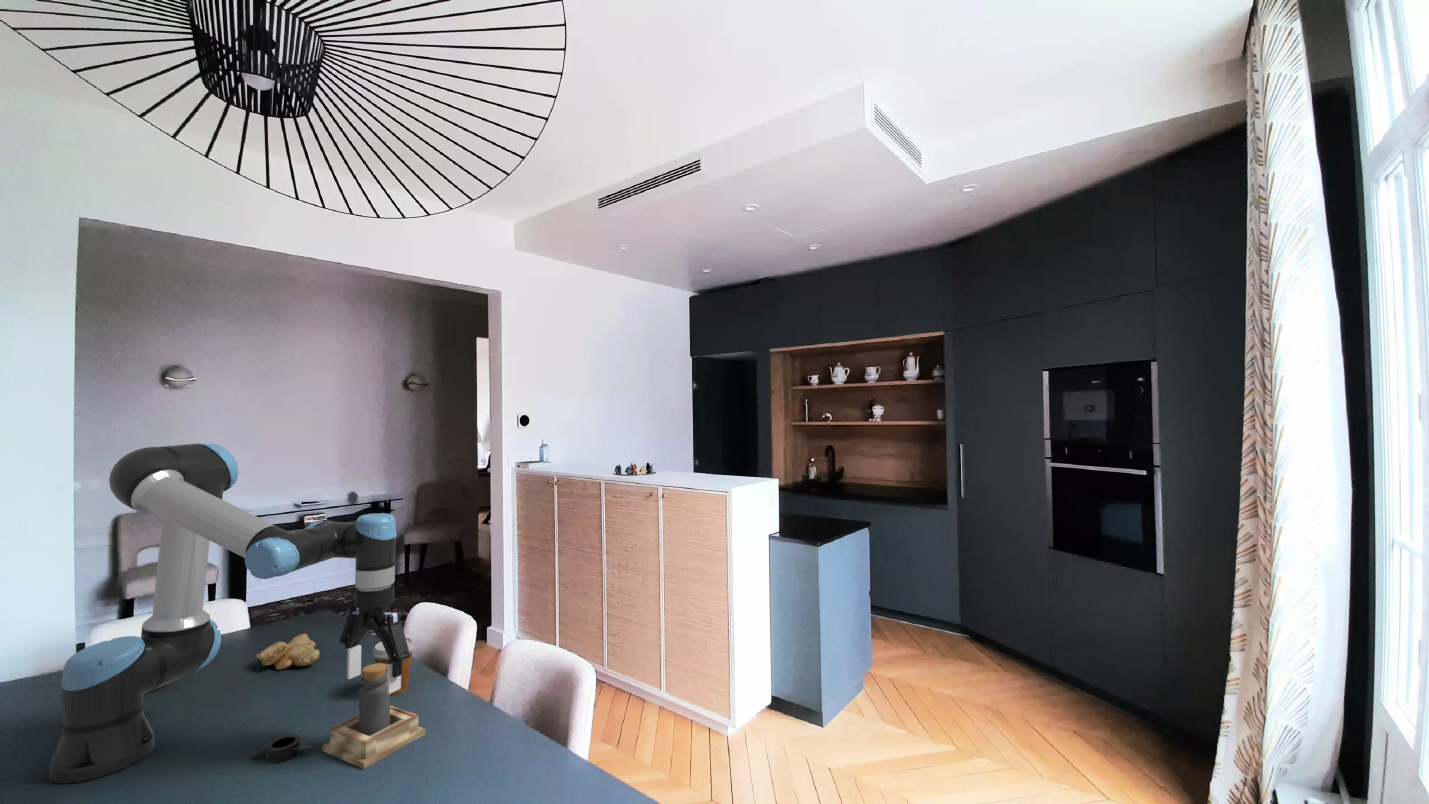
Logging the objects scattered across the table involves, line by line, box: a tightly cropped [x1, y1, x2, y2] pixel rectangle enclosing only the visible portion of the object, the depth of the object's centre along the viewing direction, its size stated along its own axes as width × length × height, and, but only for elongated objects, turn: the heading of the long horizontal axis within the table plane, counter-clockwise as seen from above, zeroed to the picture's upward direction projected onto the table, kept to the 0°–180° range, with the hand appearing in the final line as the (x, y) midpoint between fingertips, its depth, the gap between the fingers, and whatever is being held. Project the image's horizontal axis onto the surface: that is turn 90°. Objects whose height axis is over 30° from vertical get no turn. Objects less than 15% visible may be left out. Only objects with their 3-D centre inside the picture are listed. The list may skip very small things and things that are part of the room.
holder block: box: [321, 704, 426, 770], centre depth 128 cm, size 14×14×4 cm
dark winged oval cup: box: [252, 734, 315, 765], centre depth 124 cm, size 8×10×3 cm
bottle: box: [358, 663, 391, 736], centre depth 128 cm, size 6×6×15 cm
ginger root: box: [255, 633, 320, 671], centre depth 167 cm, size 16×16×8 cm
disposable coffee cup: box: [372, 636, 415, 697], centre depth 151 cm, size 10×10×12 cm
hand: (373, 683), depth 128 cm, fingers open, 13 cm apart
